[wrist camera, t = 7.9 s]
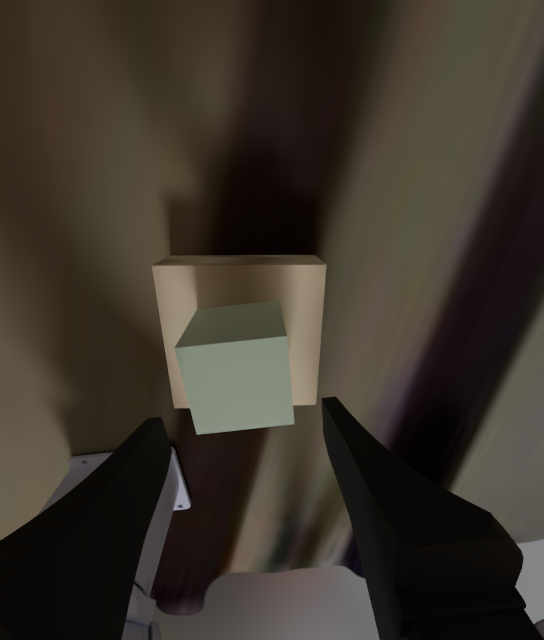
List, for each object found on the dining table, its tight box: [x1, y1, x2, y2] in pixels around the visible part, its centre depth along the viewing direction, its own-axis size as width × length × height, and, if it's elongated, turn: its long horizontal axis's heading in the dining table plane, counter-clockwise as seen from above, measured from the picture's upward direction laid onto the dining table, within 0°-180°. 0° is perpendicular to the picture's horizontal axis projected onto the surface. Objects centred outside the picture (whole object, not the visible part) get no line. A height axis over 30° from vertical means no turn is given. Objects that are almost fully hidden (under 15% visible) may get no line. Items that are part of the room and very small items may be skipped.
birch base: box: [152, 255, 326, 408], centre depth 20 cm, size 10×10×4 cm
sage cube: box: [174, 300, 294, 435], centre depth 16 cm, size 5×5×5 cm
